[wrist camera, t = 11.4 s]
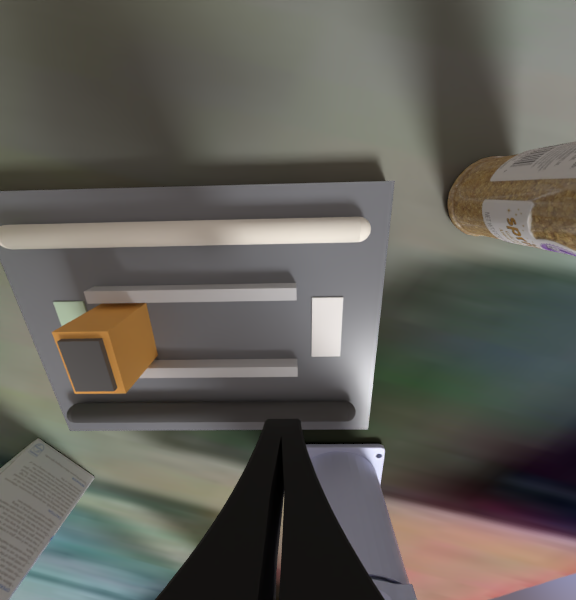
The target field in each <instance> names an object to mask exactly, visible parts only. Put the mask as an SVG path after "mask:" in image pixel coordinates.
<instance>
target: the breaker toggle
mask: <svg viewBox="0 0 576 600" xmlns="http://www.w3.org/2000/svg"><path fill="white" fill-rule="evenodd" d="M52 335H53V337H54V340H55V343H56V345H57V348H58V351H59V353H60V356H61V358H62V361H63V364H64V366H65V369H66V372H67V374H68V377H69V380H70V382H71V385H72V388H73V390H74V393H75V394H120V393H127V392H128V390H129V389H130V388H131V387H132V386H133V385H134V383H135V382H136V381H137V380H138V379H139V377H140V376H141V375H142V374H143V373H144V371H145V370H146V369H147V368H148V367H149V365H150V364H151V363H152V362H153V361H154V359H155V358H156V357H157V356H158V353H157V349H156V344H155V340H154V335H153V331H152V326H151V322H150V318H149V313H148V309H147V304H146V303H111V304H100V305H98V306H96V307H95V308H93V309H91V310H89V311H88V312H86V313H84V314H82V315H81V316H79V317H77V318H75V319H74V320H72V321H70V322H68V323H67V324H65V325H63V326H61V327H60V328H58V329H56V330H54V331H53V332H52Z"/></svg>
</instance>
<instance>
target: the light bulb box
mask: <svg viewBox="0 0 576 600" xmlns="http://www.w3.org/2000/svg"><path fill="white" fill-rule="evenodd" d="M93 479H94V476H93V475H91V474H90V473H88V472H87V471H86V470H84V469H83V468H81V467H80V466H78V465H77V464H75V463H74V462H73V461H71V460H70V459H68V458H67V457H65V456H64V455H62V454H61V453H60V452H58V451H57V450H55V449H54V448H52V447H51V446H49V445H48V444H46V443H45V442H44V441H42V440H41V439H39V438H37V439H36V440H34V441H33V442H32V443H30V444H29V445H28V446H27V447H26V448H24V449H23V450H22V451H21V452H20V453H18V454H17V455H16V456H15V457H14V458H12V459H11V460H10V461H9V462H7V463H6V464H5V465H4V466H3V467H1V468H0V600H9V599H10V598H11V596H12V595H13V594H14V592H15V591H16V589H17V588H18V587H19V585H20V584H21V582H22V581H23V579H24V578H25V576H26V575H27V574H28V572H29V571H30V569H31V568H32V566H33V565H34V564H35V562H36V561H37V559H38V558H39V556H40V555H41V554H42V552H43V551H44V549H45V548H46V546H47V545H48V543H49V542H50V541H51V539H52V538H53V536H54V535H55V533H56V532H57V531H58V529H59V528H60V526H61V525H62V523H63V522H64V521H65V519H66V518H67V516H68V515H69V513H70V512H71V511H72V509H73V508H74V506H75V505H76V504H77V502H78V501H79V499H80V498H81V496H82V495H83V494H84V492H85V491H86V489H87V488H88V486H89V485H90V484H91V482H92V481H93Z"/></svg>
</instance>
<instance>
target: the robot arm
mask: <svg viewBox="0 0 576 600" xmlns="http://www.w3.org/2000/svg"><path fill="white" fill-rule="evenodd" d="M384 455H385V449H384V446H383V445H381V444H305V440H304V437H303V432H302V427H301V421H300V420H299V419H298V418H297V419H267V420H266V421H265V423H264V426H263V429H262V432H261V435H260V437H259V440H258V442H257V444H256V447H255V449H254V451H253V453H252V455H251V457H250V459H249V462H248V464H247V466H246V468H245V470H244V472H243V474H242V475H241V477H240V479H239V481H238V483H237V484H236V486H235V488H234V490H233V492H232V493H231V495H230V497H229V499H228V500H227V502H226V504H225V505H224V507H223V508H222V510H221V512H220V513H219V515H218V516H217V518H216V519H215V521H214V522H213V524H212V525H211V527H210V528H209V530H208V531H207V533H206V534H205V535H204V537H203V538H202V540H201V541H200V543H199V544H198V545H197V547H196V548H195V550H194V551H193V552H192V554H191V555H190V556H189V558H188V559H187V560H186V562H185V563H184V564H183V565H182V567H181V568H180V569H179V570H178V572H177V573H176V574H175V576H174V577H173V578H172V579H171V581H170V582H169V583H168V584H167V586H166V587H165V588H164V590H163V591H162V592H161V593H160V594H159V596H158V597H157V598H156V599H155V600H275V598H276V570H277V556H278V546H279V536H280V526H281V517H282V507H283V497H284V517H283V538H282V557H281V575H280V592H279V600H417V598H416V595H415V592H414V588H413V585H412V584H409V580H408V577H407V574H406V570H405V567H404V564H403V560H402V557H401V554H400V550H399V547H398V544H397V540H396V537H395V534H394V530H393V527H392V523H391V520H390V517H389V513H388V510H387V507H386V503H385V500H384V497H383V493H382V490H381V487H380V484H381V476H382V469H383V462H384Z"/></svg>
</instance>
